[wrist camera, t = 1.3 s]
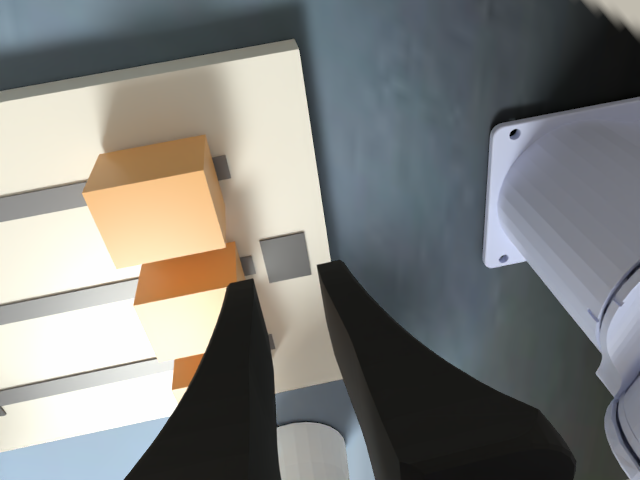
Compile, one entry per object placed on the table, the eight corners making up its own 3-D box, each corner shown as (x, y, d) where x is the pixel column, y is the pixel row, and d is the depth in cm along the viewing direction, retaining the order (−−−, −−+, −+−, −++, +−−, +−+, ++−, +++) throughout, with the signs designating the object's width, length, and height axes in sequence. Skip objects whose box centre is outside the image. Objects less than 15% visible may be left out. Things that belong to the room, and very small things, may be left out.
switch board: (294, 38, 20) (299, 49, 19) (343, 357, 30) (348, 379, 29) (-248, 135, 19) (-283, 153, 18) (-6, 431, 29) (-17, 457, 28)
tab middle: (234, 241, 23) (236, 285, 20) (250, 296, 24) (253, 342, 22) (142, 259, 22) (133, 305, 20) (165, 314, 24) (158, 362, 22)
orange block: (205, 134, 20) (203, 170, 17) (225, 206, 22) (225, 247, 19) (99, 154, 20) (81, 193, 17) (128, 225, 21) (116, 269, 19)
